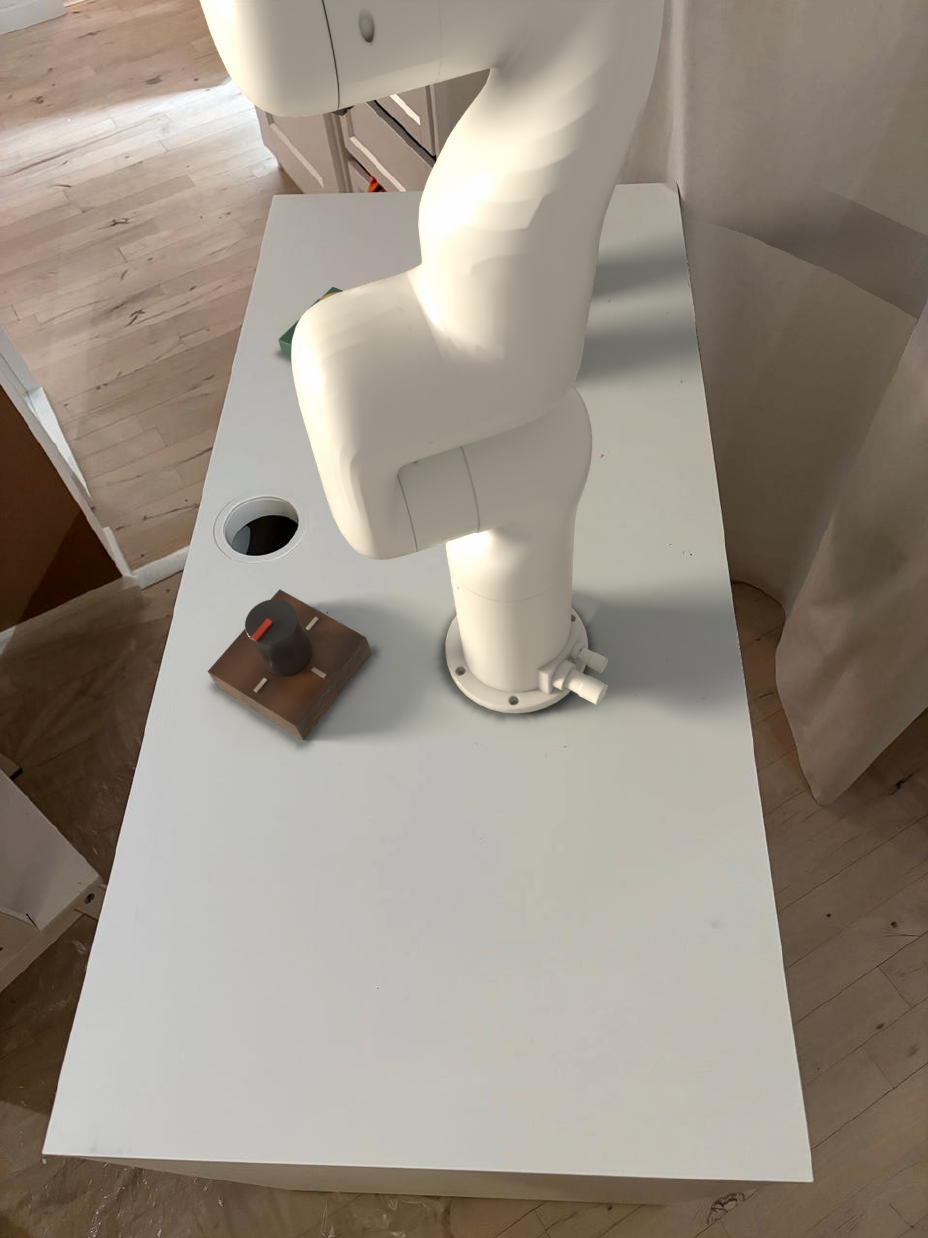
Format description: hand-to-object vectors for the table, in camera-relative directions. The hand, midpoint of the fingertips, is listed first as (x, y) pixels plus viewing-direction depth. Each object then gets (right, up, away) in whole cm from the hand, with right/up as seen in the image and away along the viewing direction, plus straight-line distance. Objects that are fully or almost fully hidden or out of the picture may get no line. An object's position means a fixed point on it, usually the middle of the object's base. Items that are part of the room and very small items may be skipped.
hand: (335, 107), depth 84 cm
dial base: (-4, -50, +2) cm, 50 cm away
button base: (-2, -14, +24) cm, 27 cm away
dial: (-4, -48, -1) cm, 48 cm away
